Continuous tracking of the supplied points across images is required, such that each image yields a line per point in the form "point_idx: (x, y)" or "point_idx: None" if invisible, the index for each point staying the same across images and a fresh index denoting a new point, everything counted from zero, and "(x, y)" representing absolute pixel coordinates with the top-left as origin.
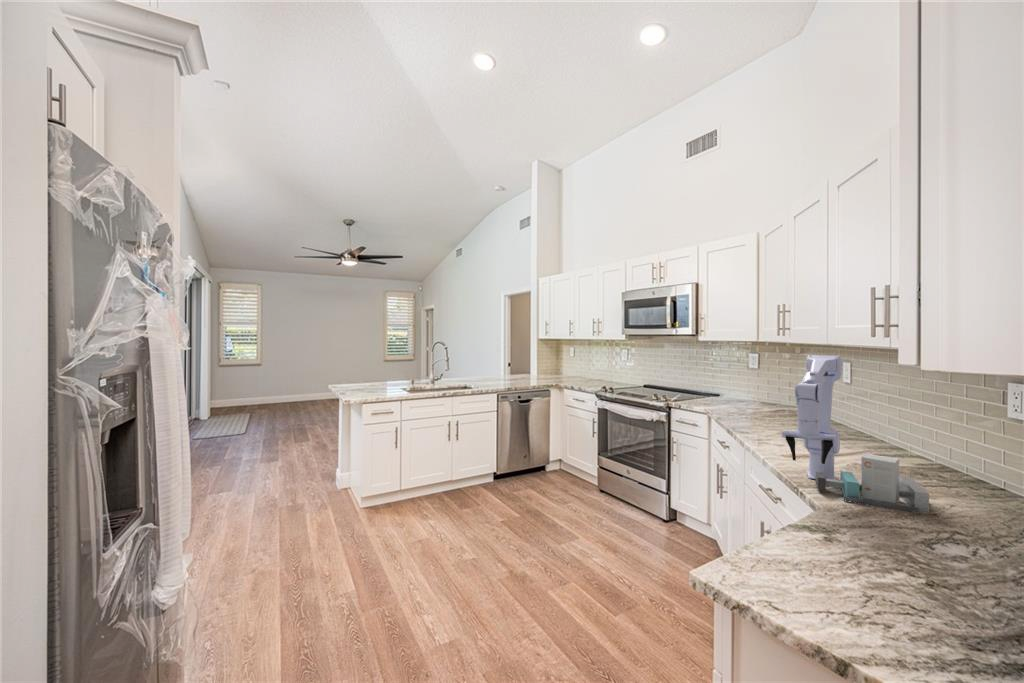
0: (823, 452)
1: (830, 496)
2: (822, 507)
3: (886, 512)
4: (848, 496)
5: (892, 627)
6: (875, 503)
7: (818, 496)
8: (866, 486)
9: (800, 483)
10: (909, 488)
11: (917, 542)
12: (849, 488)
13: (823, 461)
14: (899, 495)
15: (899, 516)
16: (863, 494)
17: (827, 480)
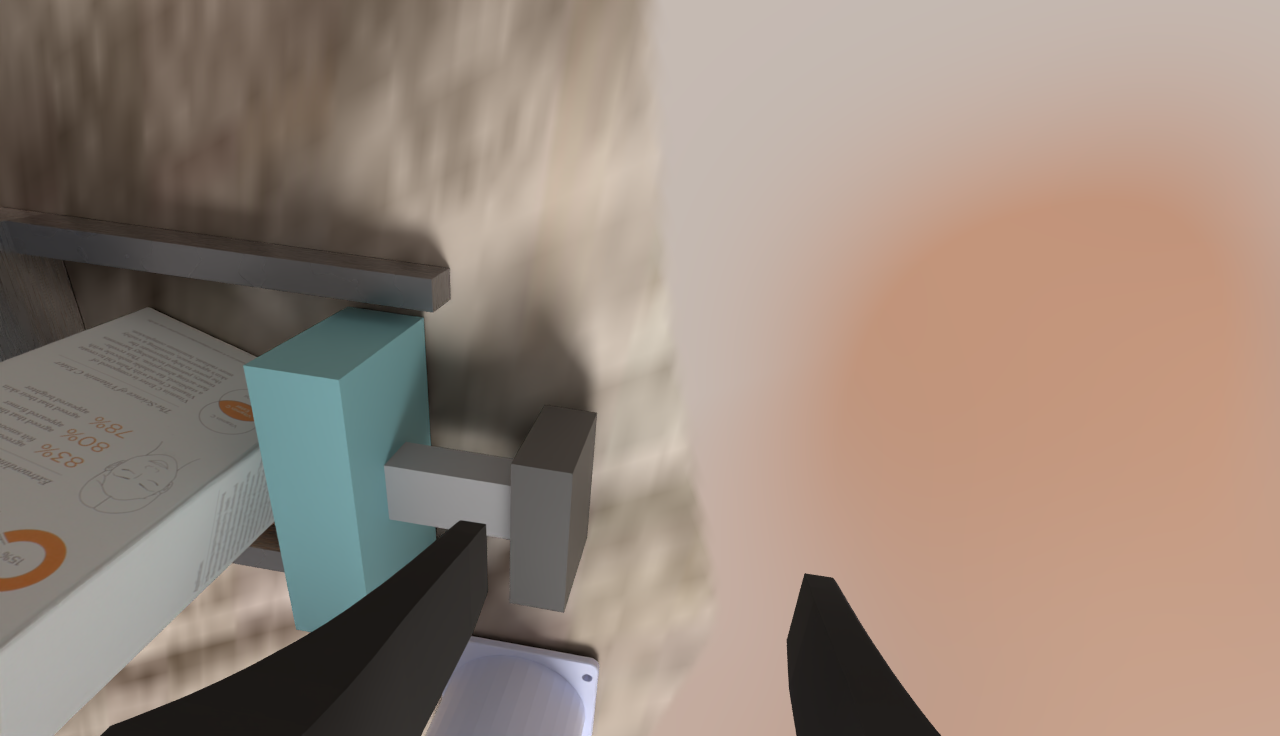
0: (383, 640)
1: (527, 347)
2: (644, 14)
3: (195, 123)
4: (399, 291)
5: None
6: (243, 246)
7: (616, 314)
8: (235, 424)
9: (681, 559)
10: None
11: None
12: (357, 348)
13: (457, 539)
14: None
15: (118, 64)
16: None
17: (500, 491)
